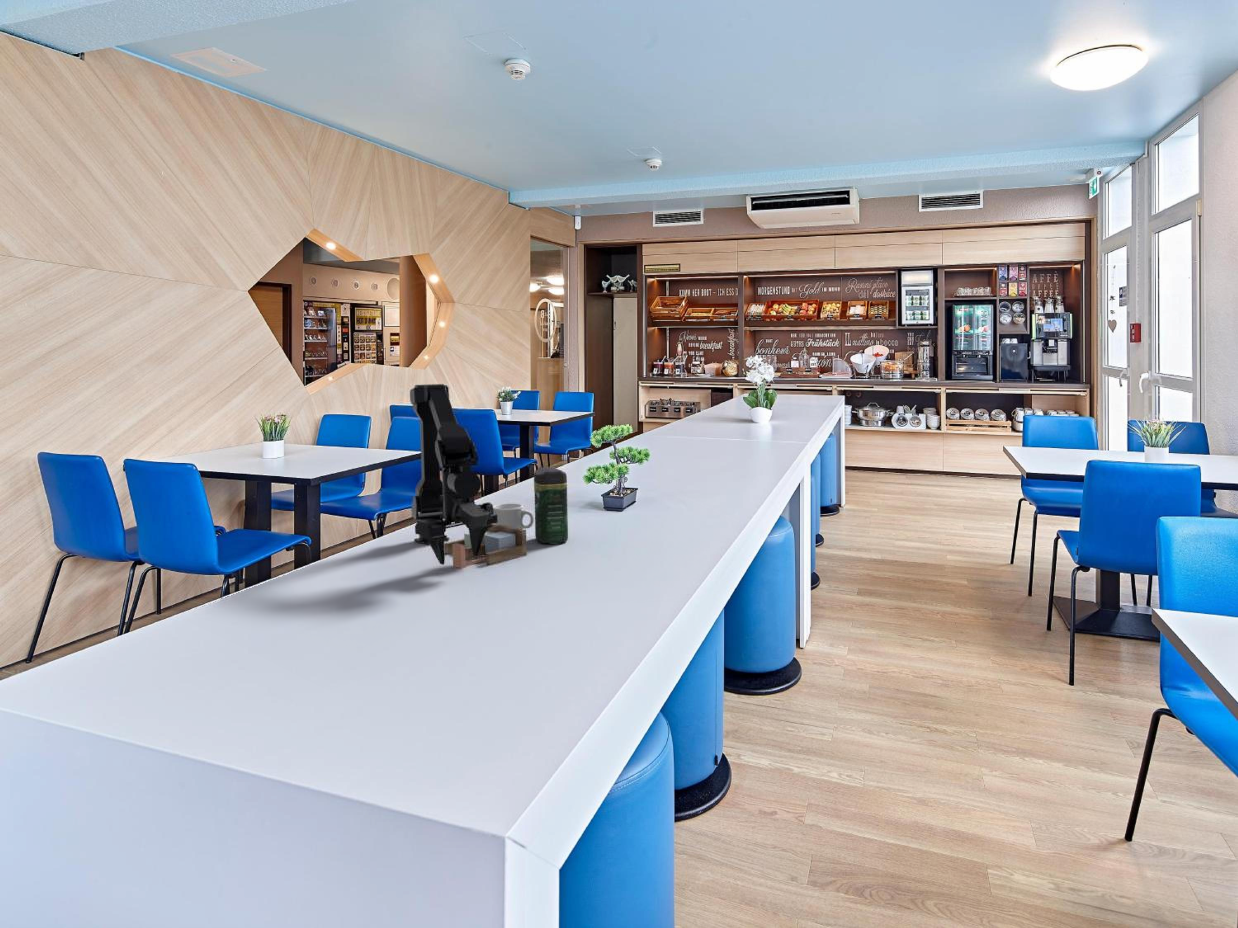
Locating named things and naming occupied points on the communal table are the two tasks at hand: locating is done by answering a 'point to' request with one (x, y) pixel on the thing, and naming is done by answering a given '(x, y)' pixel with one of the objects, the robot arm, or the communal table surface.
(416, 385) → the robot arm
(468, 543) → the green block
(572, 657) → the communal table surface
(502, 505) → the cup
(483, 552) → the lane rack
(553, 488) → the coffee jar
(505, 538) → the wooden bar with block
